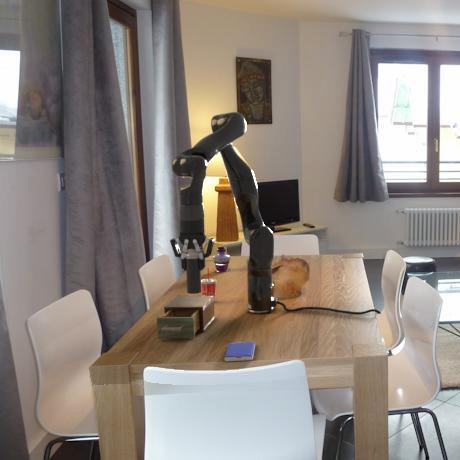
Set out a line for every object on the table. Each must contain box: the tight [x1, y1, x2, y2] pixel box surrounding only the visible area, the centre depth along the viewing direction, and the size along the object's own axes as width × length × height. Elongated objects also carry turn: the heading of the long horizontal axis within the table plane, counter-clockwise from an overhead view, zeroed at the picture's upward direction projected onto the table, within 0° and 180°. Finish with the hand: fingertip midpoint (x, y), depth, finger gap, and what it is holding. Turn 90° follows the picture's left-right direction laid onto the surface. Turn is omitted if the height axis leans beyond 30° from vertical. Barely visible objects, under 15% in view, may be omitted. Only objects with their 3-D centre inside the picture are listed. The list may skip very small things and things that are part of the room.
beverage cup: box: [201, 267, 218, 304], centre depth 248 cm, size 6×6×14 cm
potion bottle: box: [212, 245, 231, 273], centre depth 302 cm, size 9×9×12 cm
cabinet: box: [163, 294, 216, 333], centre depth 220 cm, size 15×13×9 cm
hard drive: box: [224, 341, 256, 362], centre depth 195 cm, size 2×8×12 cm
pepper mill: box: [185, 252, 202, 295], centre depth 204 cm, size 4×4×12 cm
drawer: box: [156, 310, 201, 339], centre depth 208 cm, size 18×12×7 cm, turn 4°
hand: (193, 269), depth 204 cm, fingers closed on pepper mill, 4 cm apart
